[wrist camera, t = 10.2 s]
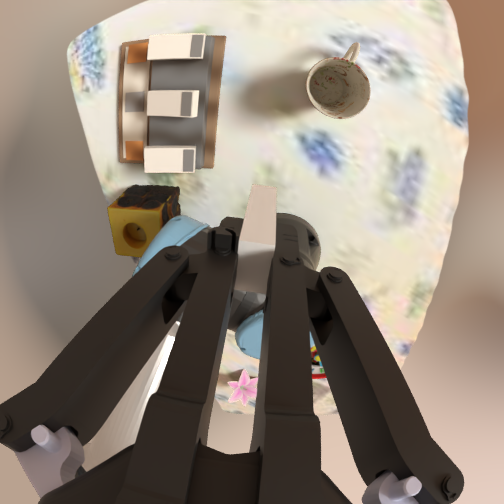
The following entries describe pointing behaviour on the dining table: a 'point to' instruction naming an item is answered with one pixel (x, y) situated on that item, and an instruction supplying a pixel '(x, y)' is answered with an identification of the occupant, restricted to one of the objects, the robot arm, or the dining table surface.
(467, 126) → the dining table surface
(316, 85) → the mug
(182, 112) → the rocker middle
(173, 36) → the block
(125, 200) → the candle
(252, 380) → the lily
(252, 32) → the dining table surface
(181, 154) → the block
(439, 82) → the dining table surface
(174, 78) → the switch board
